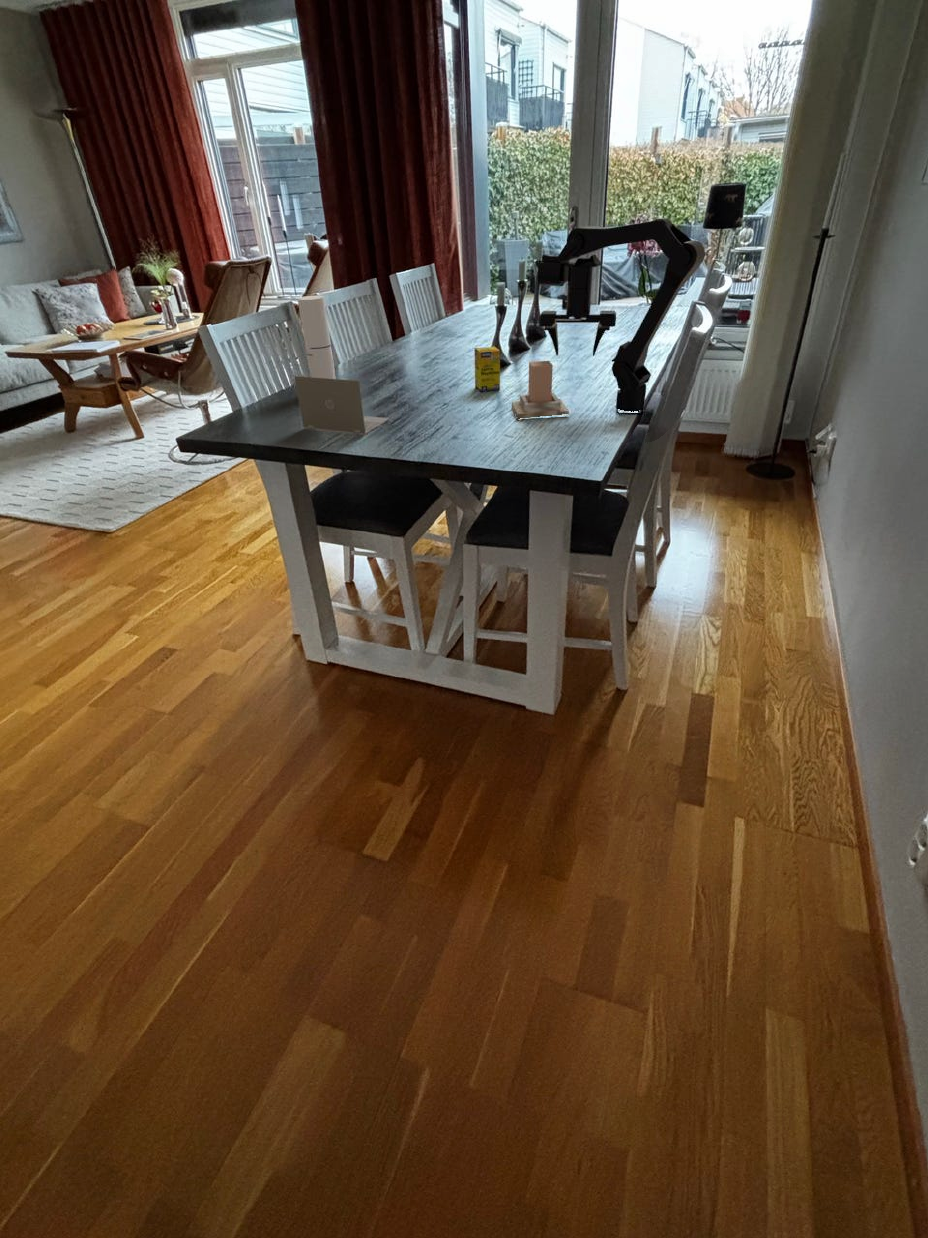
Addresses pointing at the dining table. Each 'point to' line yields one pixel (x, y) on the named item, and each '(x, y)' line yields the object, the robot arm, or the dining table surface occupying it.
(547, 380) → the terracotta peg
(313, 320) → the cylindrical container
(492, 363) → the supplement box
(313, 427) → the laptop
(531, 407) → the plate
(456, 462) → the dining table surface
